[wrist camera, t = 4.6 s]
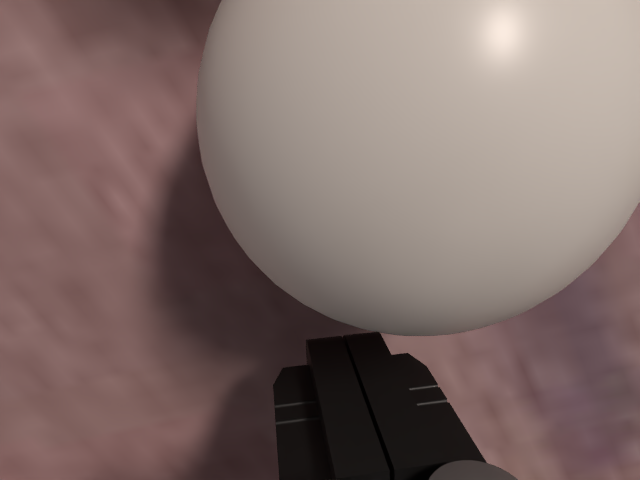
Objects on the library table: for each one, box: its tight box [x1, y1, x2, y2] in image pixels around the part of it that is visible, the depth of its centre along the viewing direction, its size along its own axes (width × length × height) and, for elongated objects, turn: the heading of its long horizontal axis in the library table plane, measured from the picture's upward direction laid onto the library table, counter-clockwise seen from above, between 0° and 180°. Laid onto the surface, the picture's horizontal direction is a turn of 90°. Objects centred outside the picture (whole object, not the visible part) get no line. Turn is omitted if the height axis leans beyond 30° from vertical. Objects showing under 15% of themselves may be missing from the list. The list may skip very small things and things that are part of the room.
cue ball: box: [196, 0, 640, 336], centre depth 7 cm, size 6×6×6 cm
